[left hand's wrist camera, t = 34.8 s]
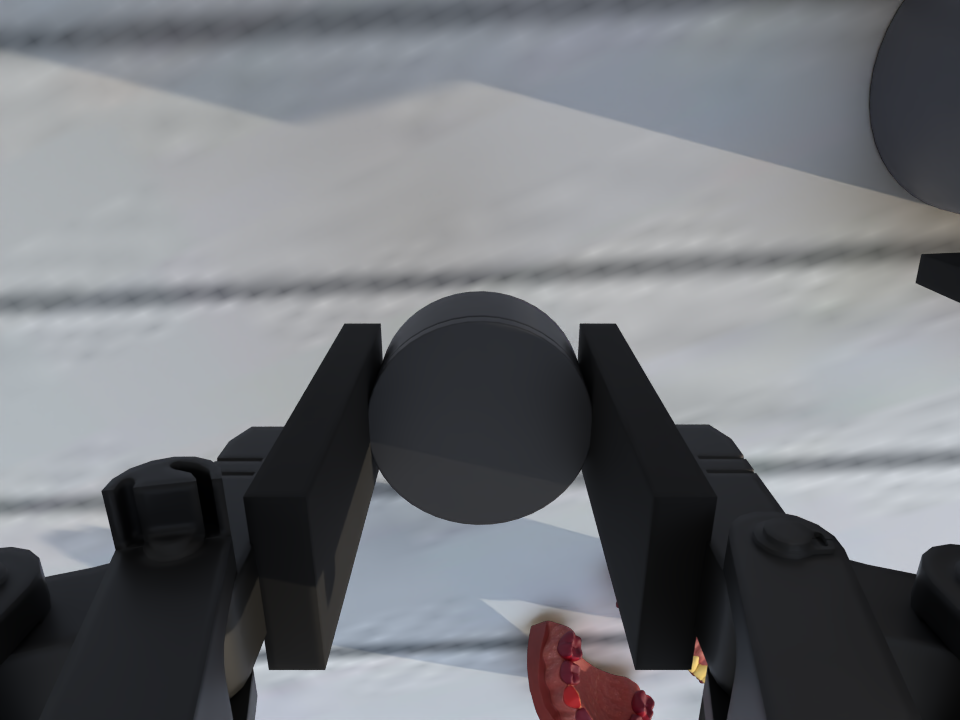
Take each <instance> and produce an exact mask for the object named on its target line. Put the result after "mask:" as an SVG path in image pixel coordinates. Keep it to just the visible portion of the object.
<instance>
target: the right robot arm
mask: <svg viewBox="0 0 960 720" xmlns="http://www.w3.org/2000/svg"><path fill="white" fill-rule="evenodd" d="M916 283H917V284H919V285H921V286H924V287H926V288H928V289H930V290H933V291H935V292H937V293H939V294H941V295H944V296H946V297H948V298H950V299H953V300H955V301H957V302H959V303H960V253H940V254H921V259H920V264H919V269H918V274H917V278H916Z"/></svg>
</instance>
